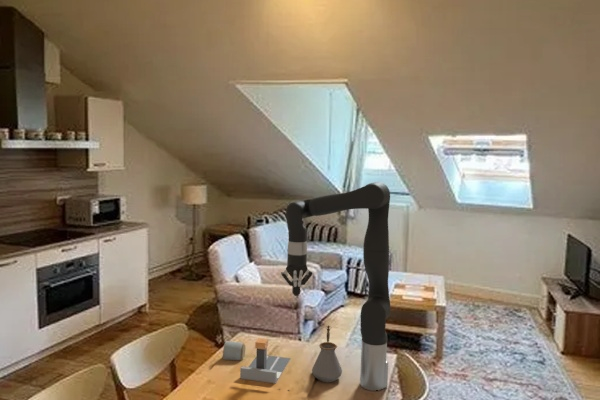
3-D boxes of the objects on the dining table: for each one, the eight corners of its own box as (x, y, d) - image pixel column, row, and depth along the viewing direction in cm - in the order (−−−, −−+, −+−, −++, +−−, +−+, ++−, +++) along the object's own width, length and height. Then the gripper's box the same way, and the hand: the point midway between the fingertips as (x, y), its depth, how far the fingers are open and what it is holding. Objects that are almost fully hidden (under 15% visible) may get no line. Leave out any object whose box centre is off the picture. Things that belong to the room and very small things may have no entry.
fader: (258, 371, 190) (258, 338, 188) (267, 373, 189) (268, 339, 187) (254, 376, 186) (255, 342, 184) (264, 377, 185) (265, 343, 184)
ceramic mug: (242, 364, 199) (242, 346, 198) (222, 363, 199) (222, 344, 199) (247, 353, 209) (247, 336, 209) (227, 352, 210) (228, 335, 209)
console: (257, 356, 206) (258, 344, 205) (290, 361, 203) (290, 348, 202) (239, 381, 185) (239, 368, 184) (275, 386, 182) (276, 373, 181)
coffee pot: (342, 385, 183) (343, 347, 182) (311, 384, 184) (312, 345, 182) (341, 360, 205) (342, 325, 203) (313, 359, 205) (314, 324, 204)
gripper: (282, 255, 188) (282, 299, 190) (316, 253, 192) (315, 297, 194) (278, 250, 195) (277, 293, 197) (310, 249, 199) (309, 291, 201)
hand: (296, 295), depth 195 cm, fingers closed
